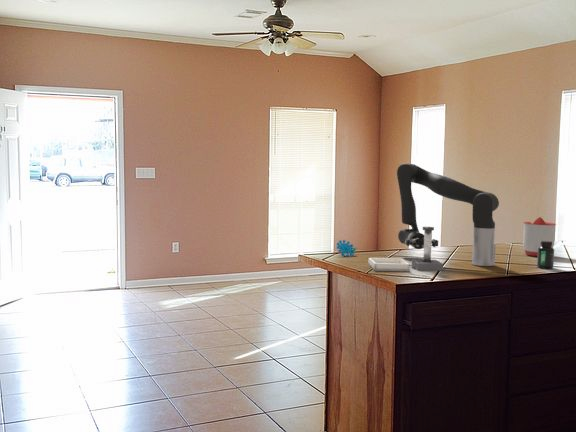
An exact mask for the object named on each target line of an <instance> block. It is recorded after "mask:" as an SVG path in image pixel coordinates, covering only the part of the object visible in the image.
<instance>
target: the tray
mask: <svg viewBox="0 0 576 432" xmlns="http://www.w3.org/2000/svg"><path fill="white" fill-rule="evenodd" d="M367 259H368V262H367V265H368V266H369V267H370V268H371V269H372V270H373V271H376V272H410V271H411V264H410V263H408V262H407V261H406V260H405V259H403V258H400V257H398V258H395V257H391V258H390V257H368V258H367Z"/></svg>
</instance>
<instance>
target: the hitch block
mask: <svg viewBox="0 0 576 432" xmlns="http://www.w3.org/2000/svg"><path fill="white" fill-rule="evenodd" d="M443 266H444V264H443V263H442V262H441V261H439V260H437V259H431V262H423V259H414V258H413V259H411V264H410V267H412V268H413V269H415V270H416V271H435V272H436V271H437V272H441V271H443V270H444V269H443Z"/></svg>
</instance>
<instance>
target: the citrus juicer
mask: <svg viewBox="0 0 576 432" xmlns="http://www.w3.org/2000/svg"><path fill="white" fill-rule="evenodd" d="M556 225H557V223H554V222H545V220H544V219H543V218H542V217H540V216H538V218H536V219H535V220H534V221H533V223H532V222H531V221H523V236H522V238H523V239H522V241H523V243H522V244H523V248H524V253H525V255H526V256H531V255H532V256H531V257H538V248H539V247H541V245H540V244H541V241H551V242H552V248H553V249H554V246H555V237H556Z"/></svg>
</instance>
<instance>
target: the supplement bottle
mask: <svg viewBox="0 0 576 432" xmlns="http://www.w3.org/2000/svg"><path fill="white" fill-rule="evenodd" d="M540 245H541V247H539V248H538V256H536V258H537V262H536V263H537V264H536V266H537V268H538V267H539V269H545V270H551V269H553V268H554V265H555V264H554V262H555V260H554V259H555V249H554V247H553V248H552V242H551V241H541V244H540Z"/></svg>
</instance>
